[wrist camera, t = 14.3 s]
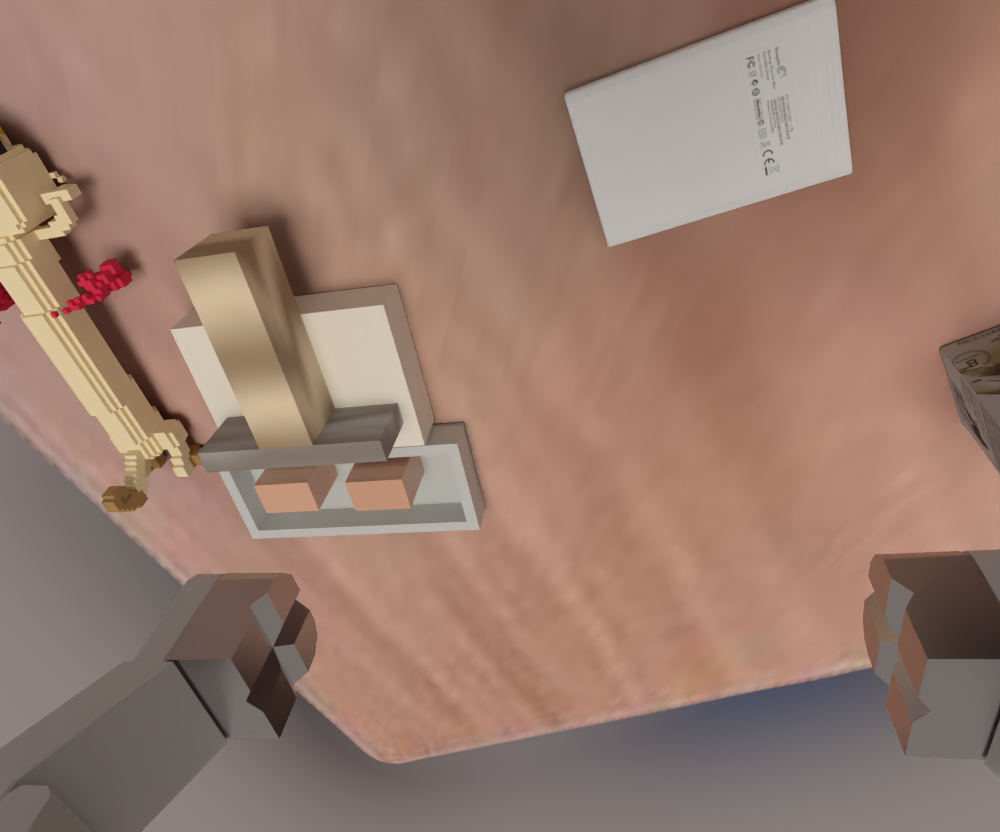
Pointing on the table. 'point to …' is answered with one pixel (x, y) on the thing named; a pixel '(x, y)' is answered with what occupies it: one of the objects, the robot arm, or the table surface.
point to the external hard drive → (716, 124)
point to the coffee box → (977, 387)
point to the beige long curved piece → (78, 322)
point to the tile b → (385, 483)
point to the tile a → (295, 488)
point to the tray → (437, 507)
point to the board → (335, 357)
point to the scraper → (272, 365)
